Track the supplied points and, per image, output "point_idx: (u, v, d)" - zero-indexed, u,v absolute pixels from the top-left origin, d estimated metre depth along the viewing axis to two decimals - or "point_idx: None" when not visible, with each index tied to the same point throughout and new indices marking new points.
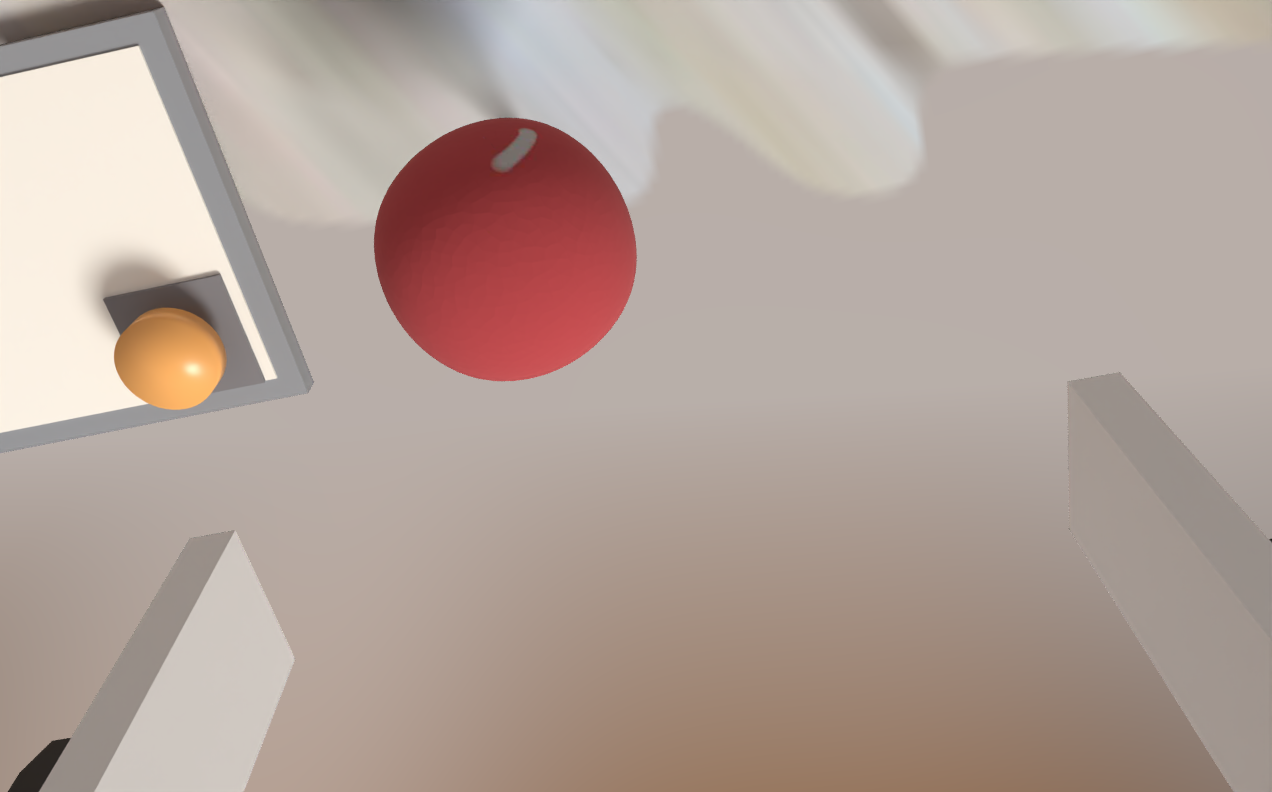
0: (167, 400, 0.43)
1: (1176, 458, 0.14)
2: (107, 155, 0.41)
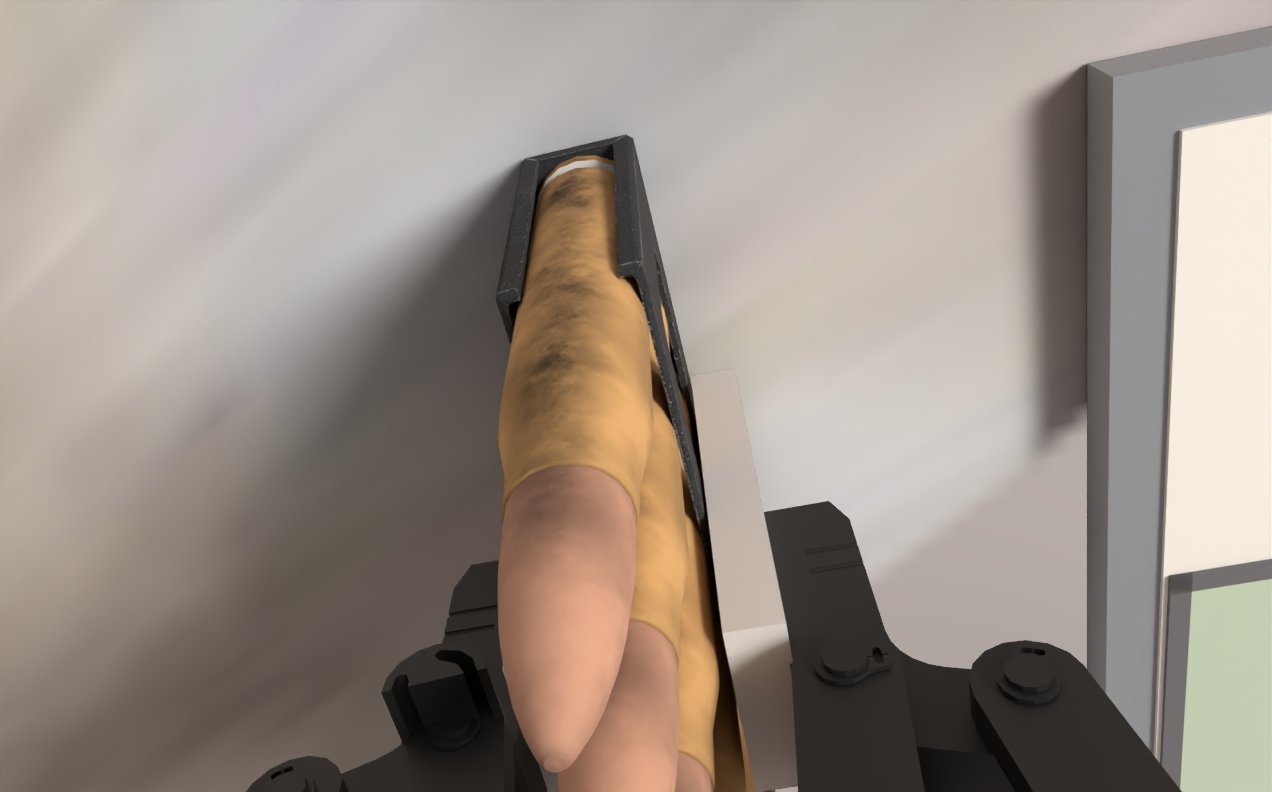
0: None
1: (734, 440, 0.16)
2: None
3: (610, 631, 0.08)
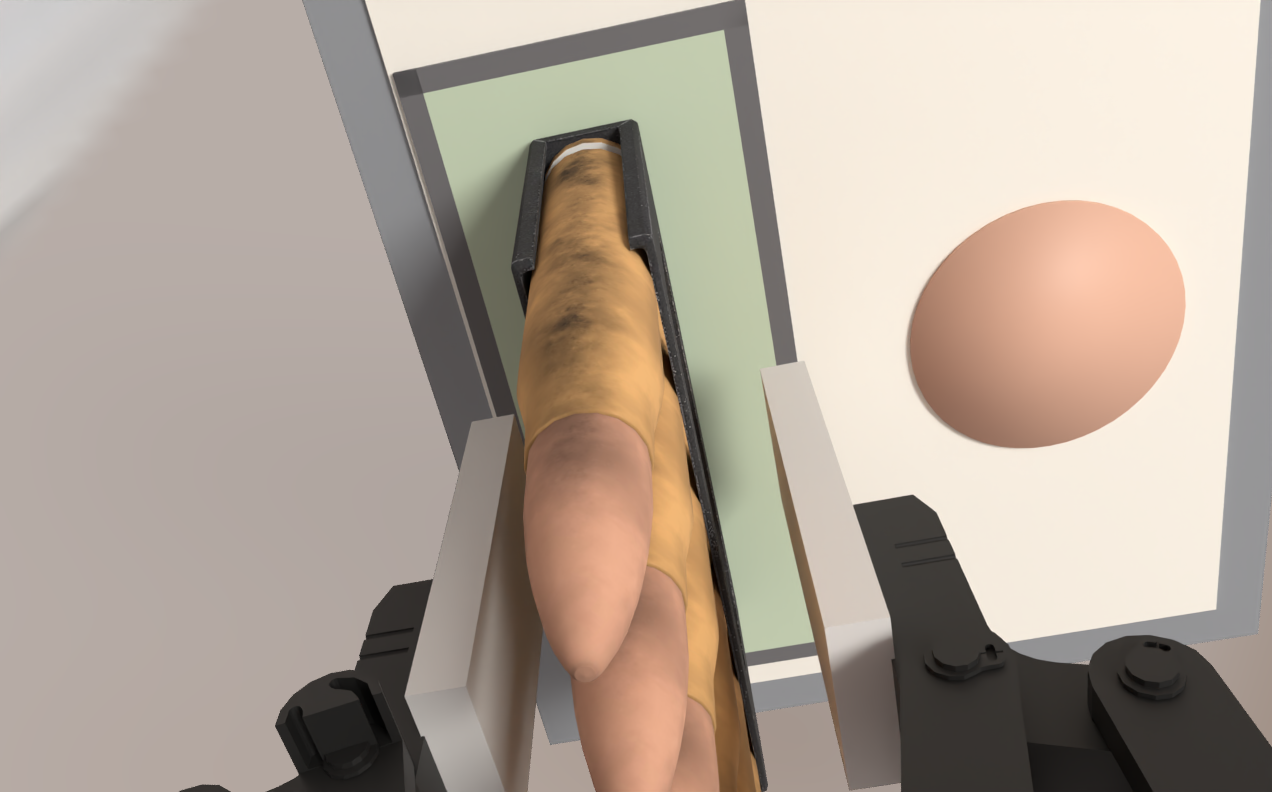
0: None
1: (812, 433, 0.16)
2: None
3: (633, 560, 0.09)
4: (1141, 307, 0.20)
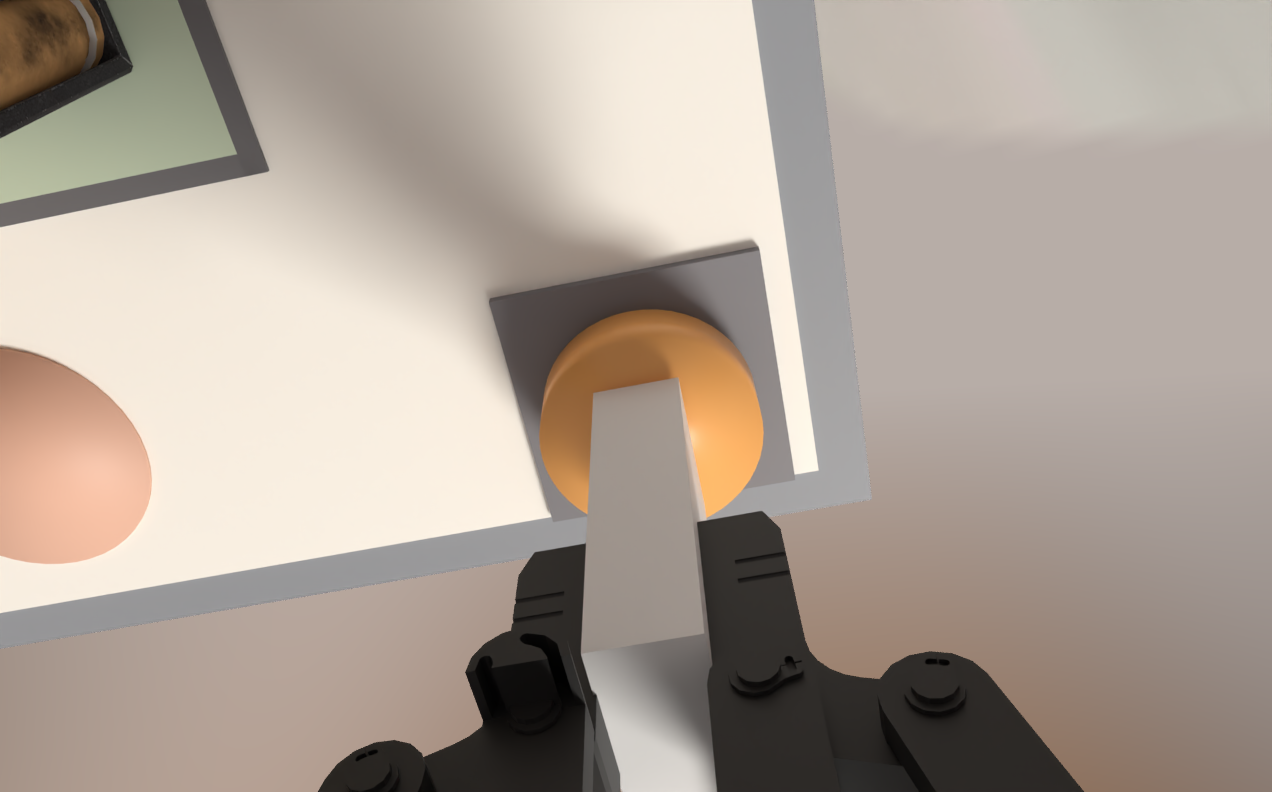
0: None
1: (671, 450, 0.16)
2: None
3: None
4: (66, 529, 0.22)
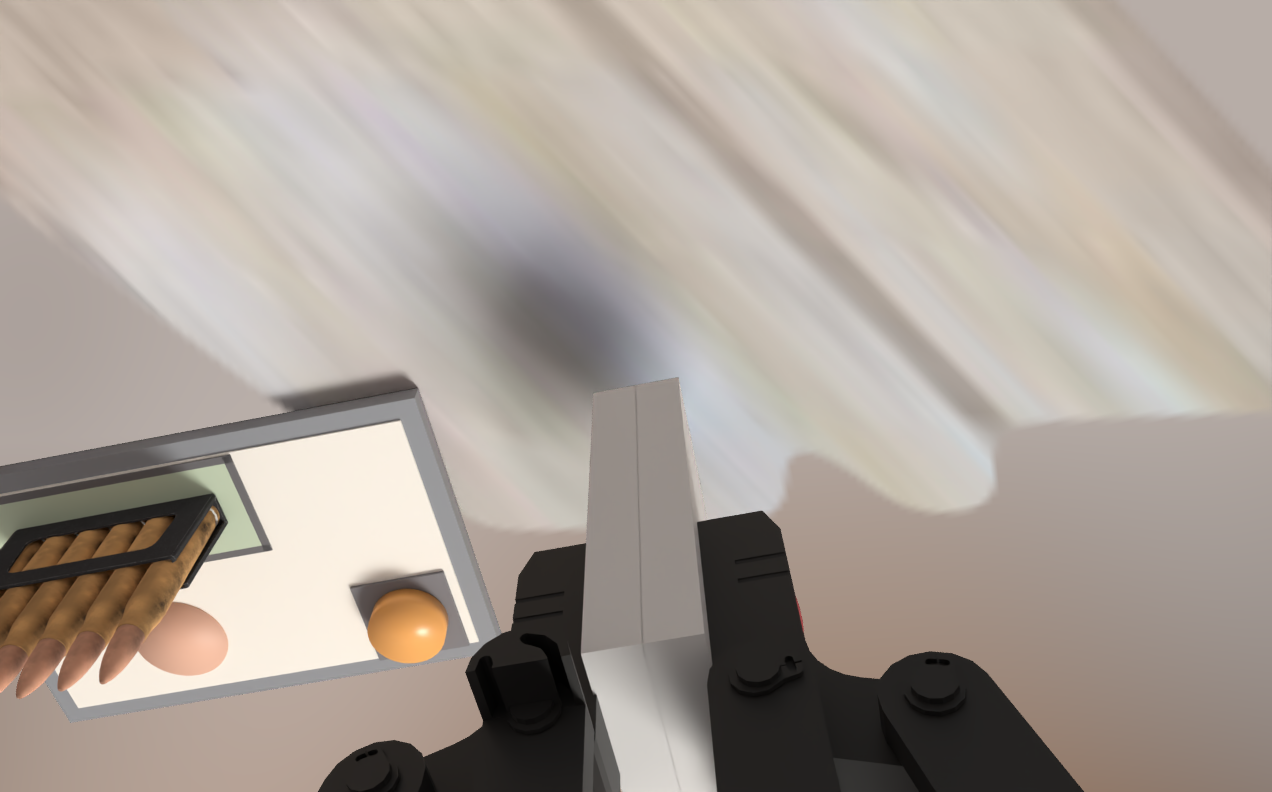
0: (404, 657, 0.56)
1: (671, 450, 0.16)
2: (366, 491, 0.53)
3: None
4: (195, 662, 0.58)
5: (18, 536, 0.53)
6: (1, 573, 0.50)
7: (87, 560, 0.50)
